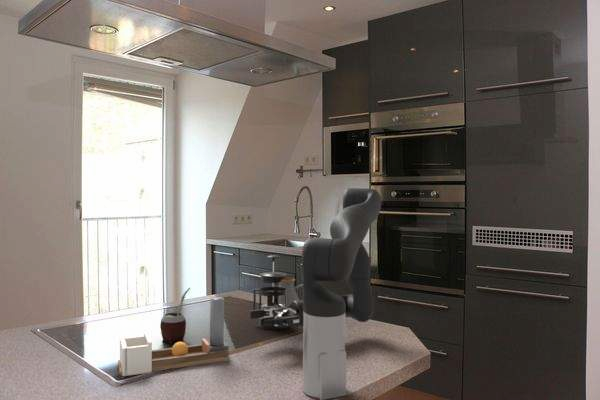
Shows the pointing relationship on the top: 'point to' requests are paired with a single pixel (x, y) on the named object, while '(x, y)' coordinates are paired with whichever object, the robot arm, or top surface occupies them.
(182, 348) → the ball
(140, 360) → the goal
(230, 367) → the top surface
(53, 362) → the top surface
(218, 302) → the grey tall cylindrical piece
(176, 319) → the mate gourd
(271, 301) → the french press
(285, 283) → the coffee pot
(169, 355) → the track
